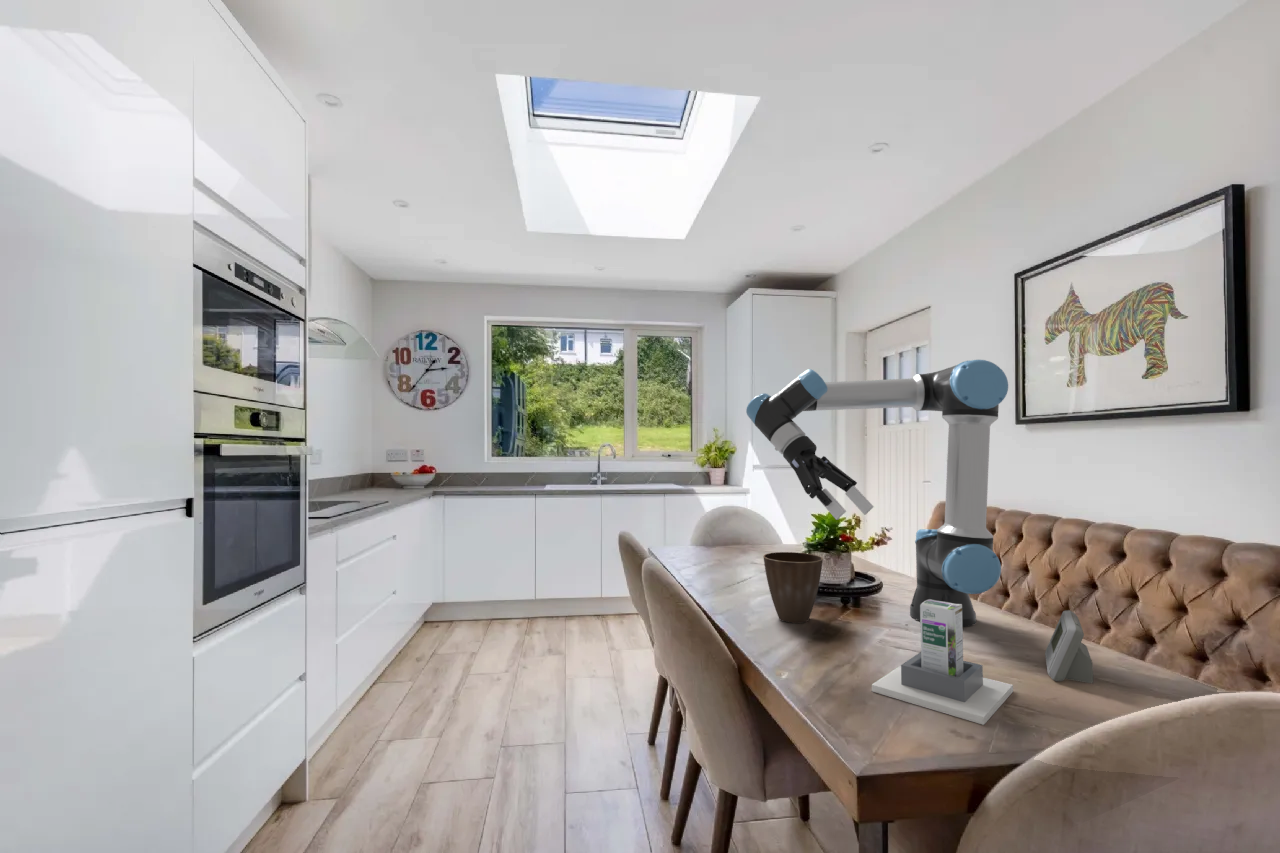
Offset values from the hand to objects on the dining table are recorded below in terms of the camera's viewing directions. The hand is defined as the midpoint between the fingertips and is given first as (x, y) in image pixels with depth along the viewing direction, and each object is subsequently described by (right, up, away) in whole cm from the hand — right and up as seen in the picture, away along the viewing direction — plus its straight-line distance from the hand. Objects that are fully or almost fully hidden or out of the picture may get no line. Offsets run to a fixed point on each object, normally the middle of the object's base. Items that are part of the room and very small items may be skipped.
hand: (855, 513), depth 127 cm
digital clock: (+36, -29, -14) cm, 48 cm away
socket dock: (+7, -29, -23) cm, 38 cm away
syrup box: (+7, -28, -23) cm, 37 cm away
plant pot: (-8, -31, +22) cm, 39 cm away
